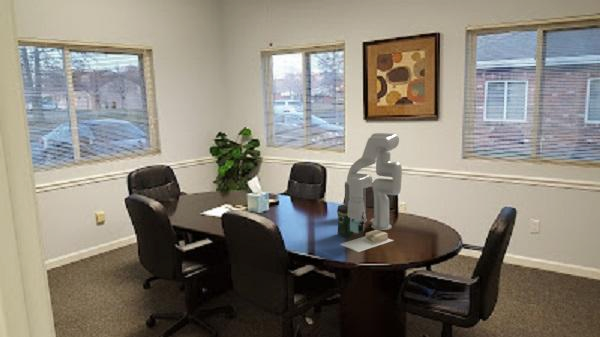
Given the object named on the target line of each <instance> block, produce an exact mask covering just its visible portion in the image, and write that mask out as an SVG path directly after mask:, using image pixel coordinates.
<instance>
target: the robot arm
mask: <svg viewBox="0 0 600 337" xmlns="http://www.w3.org/2000/svg"><path fill="white" fill-rule="evenodd" d="M399 142H400V137H399V135H398V134H396V133H384V132H376V133H372V134H371V136H370V137H368V139H367V141H366V143H365V147H364V150H363V153H362V156H361V157H360V158H358V159H357V160H355V162H354V163H353V164H351V166H350V168H349V171H348V173H347V176H346V182H347V183H348V185H349V193H350V196H349V197H350V200H349V202H348V214H347V216H348V217H349V219H350V221H353V220H357V221H358V222H359V225H358V226H359V233H362V232H364V231H363V224H364V225H365V223H366V222H367V221H368V219H367V216H366V217H365V213H366V205H365V206H364V202H363V188H365V189H368V188H369V187H371V186H372V192H373V217H372V218H371V219H369V221H370V222H371V223H372V224H371V225H370V226H371V228H372V229H374V230H379V231H388V230H391V229H392V228H393V227H392V224H391V223H390V199H389V197H388V196H389V195H390V196H398V195H399V194H400V193H401V189H402V176H403V169H402V165H401V163H400V162H397V161H391V151H392V150H394V149H396V148H397V147H398V145H399V144H400V143H399ZM372 165H375V173H376V175H377V176H378V178H376V179H374V180H373V177H372V175H370V174H366V173H365V174H364V173H358V172H359V171H360V170H362V169H364V168H367V167H370V166H372ZM379 177H386V178H379ZM391 178H392V179H391ZM361 221H362V222H361ZM361 231H362V232H361Z"/></svg>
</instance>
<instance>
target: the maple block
mask: <svg viewBox="0 0 600 337" xmlns="http://www.w3.org/2000/svg"><path fill="white" fill-rule="evenodd" d="M365 236H366V240H369V241H371V242H374V243H379V242H383V241H386V240H388V239H389V238H388V236H389V234H388V232H385V231H383V230H376V229H374V230H371V231H367V232H365Z"/></svg>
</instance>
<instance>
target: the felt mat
mask: <svg viewBox="0 0 600 337" xmlns="http://www.w3.org/2000/svg"><path fill="white" fill-rule="evenodd" d="M394 241H395V240H394V239H390V238H388V240H386V241H383V242H379V243H374V242H371V241H369V240H366V235H365V236H362V237H358V238H355V239H352V240H349V241H346V242H342V243H339V245H341V246H342V247H345V248H348V249H350V250H352V251H355V252H357V253H360V252H363V251H366V250H369V249H372V248H375V247H378V246H381V245H384V244H387V243H390V242H394Z"/></svg>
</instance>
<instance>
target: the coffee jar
mask: <svg viewBox="0 0 600 337" xmlns="http://www.w3.org/2000/svg"><path fill="white" fill-rule="evenodd" d="M336 212H337V235H338V236H340V237H341V238H351V237H353V236H354V233H355V232H352V231H350V219H349V217H348V216H347V214H348V206H346V205H345V204H340V205H337V210H336Z"/></svg>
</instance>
